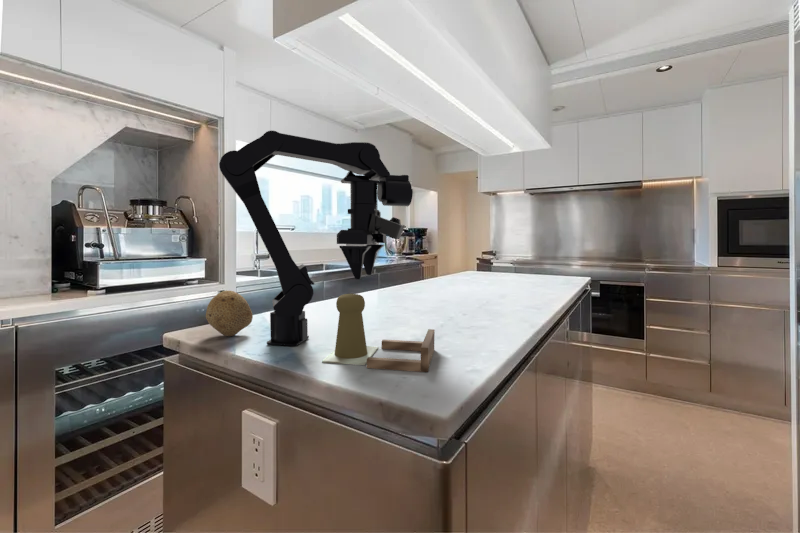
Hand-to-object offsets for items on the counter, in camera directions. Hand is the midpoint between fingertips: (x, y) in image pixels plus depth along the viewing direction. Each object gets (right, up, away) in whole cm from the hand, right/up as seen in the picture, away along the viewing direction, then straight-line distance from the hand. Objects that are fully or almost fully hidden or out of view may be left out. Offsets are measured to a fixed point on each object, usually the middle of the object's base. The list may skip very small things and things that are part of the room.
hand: (363, 276), depth 83 cm
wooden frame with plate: (+5, -14, -14) cm, 21 cm away
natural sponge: (-30, -13, 0) cm, 32 cm away
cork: (-1, -14, -13) cm, 19 cm away
